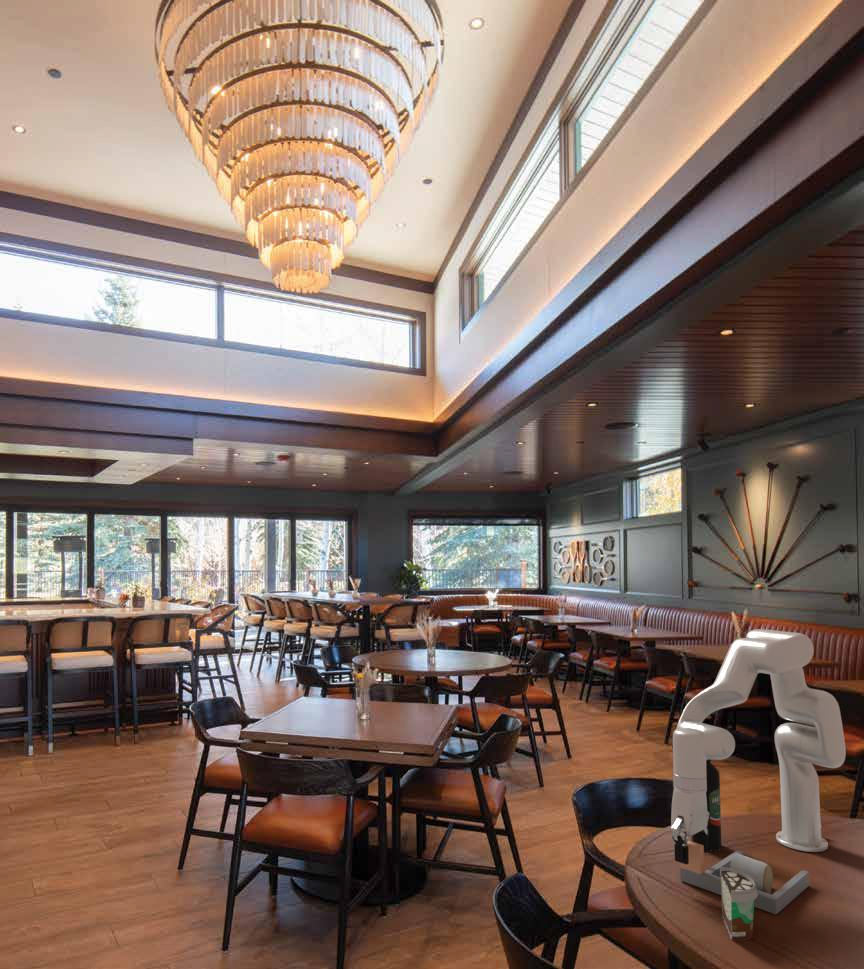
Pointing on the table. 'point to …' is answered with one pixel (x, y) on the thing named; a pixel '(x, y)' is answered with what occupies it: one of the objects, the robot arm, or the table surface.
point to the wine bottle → (713, 807)
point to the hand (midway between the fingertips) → (691, 856)
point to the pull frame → (712, 878)
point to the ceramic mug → (754, 871)
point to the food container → (737, 902)
